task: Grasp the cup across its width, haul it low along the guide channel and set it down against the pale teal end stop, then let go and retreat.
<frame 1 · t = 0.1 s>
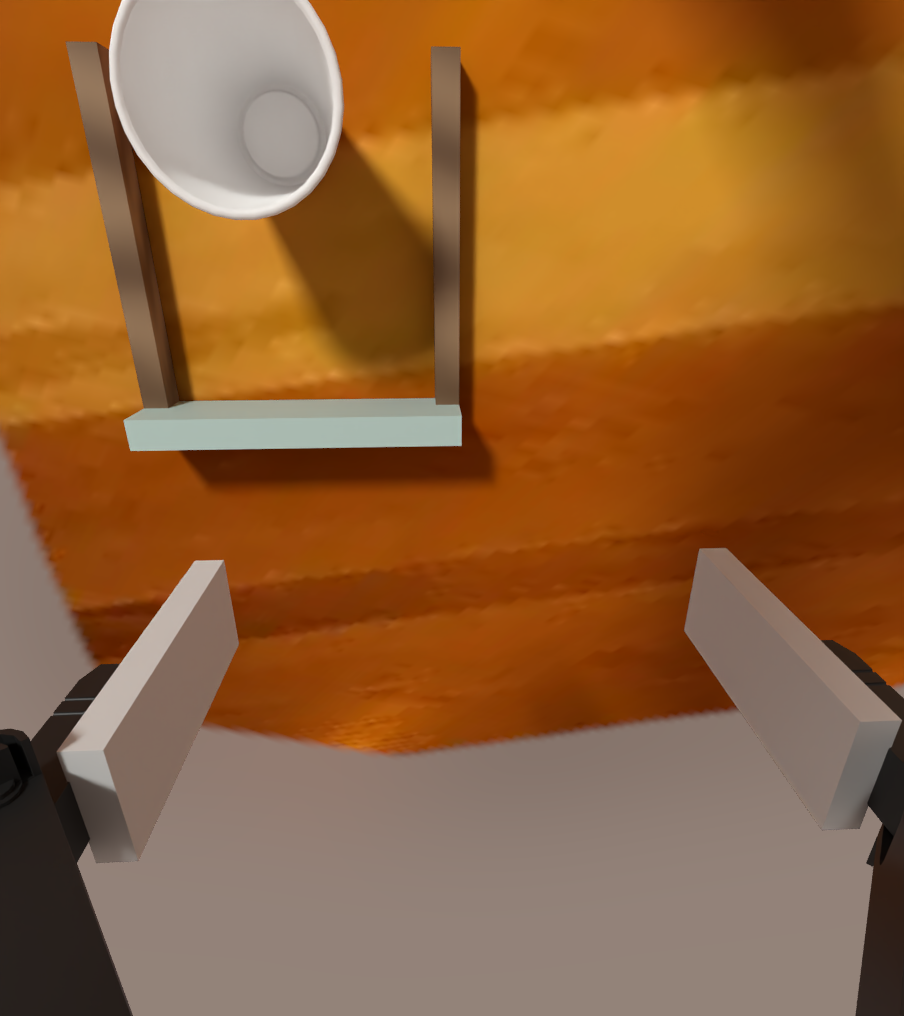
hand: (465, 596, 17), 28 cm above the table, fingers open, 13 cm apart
cup: (283, 137, 36), on the table
channel: (294, 262, 38), on the table
stop: (309, 413, 42), on the table
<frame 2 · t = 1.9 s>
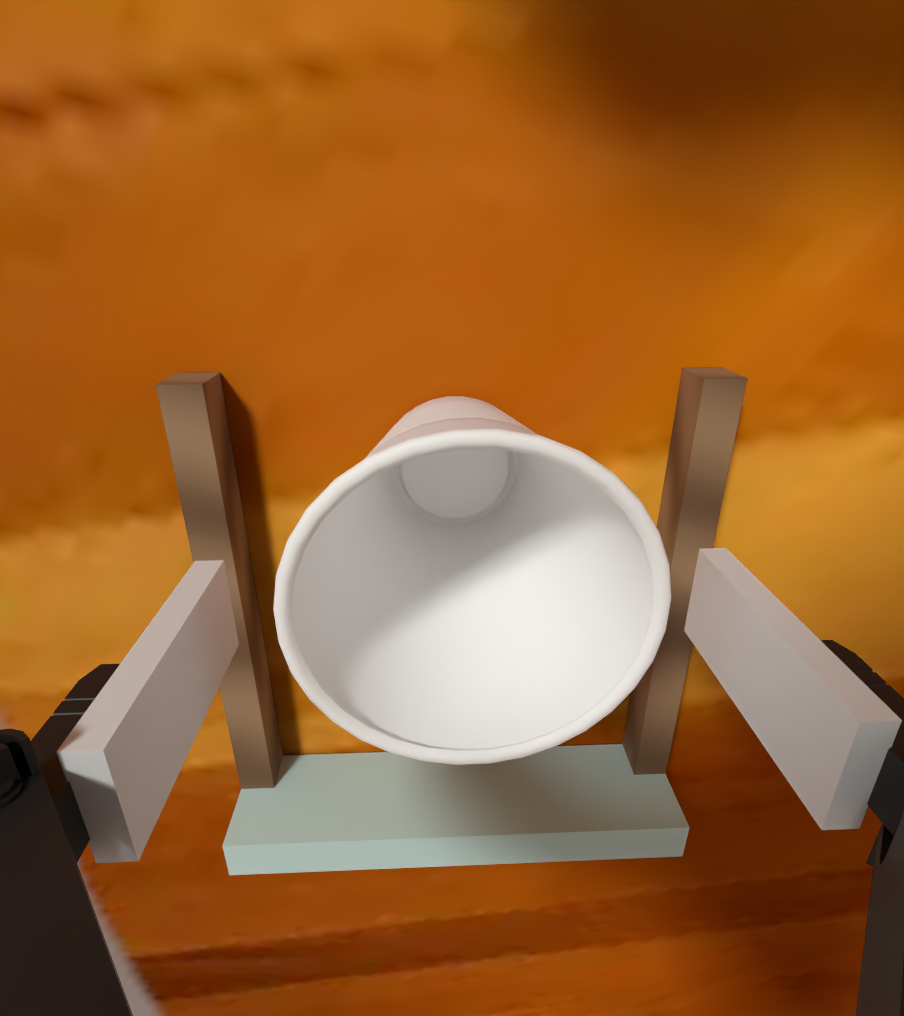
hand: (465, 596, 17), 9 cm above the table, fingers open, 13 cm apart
cup: (454, 464, 25), on the table
channel: (454, 607, 28), on the table
stop: (454, 763, 32), on the table
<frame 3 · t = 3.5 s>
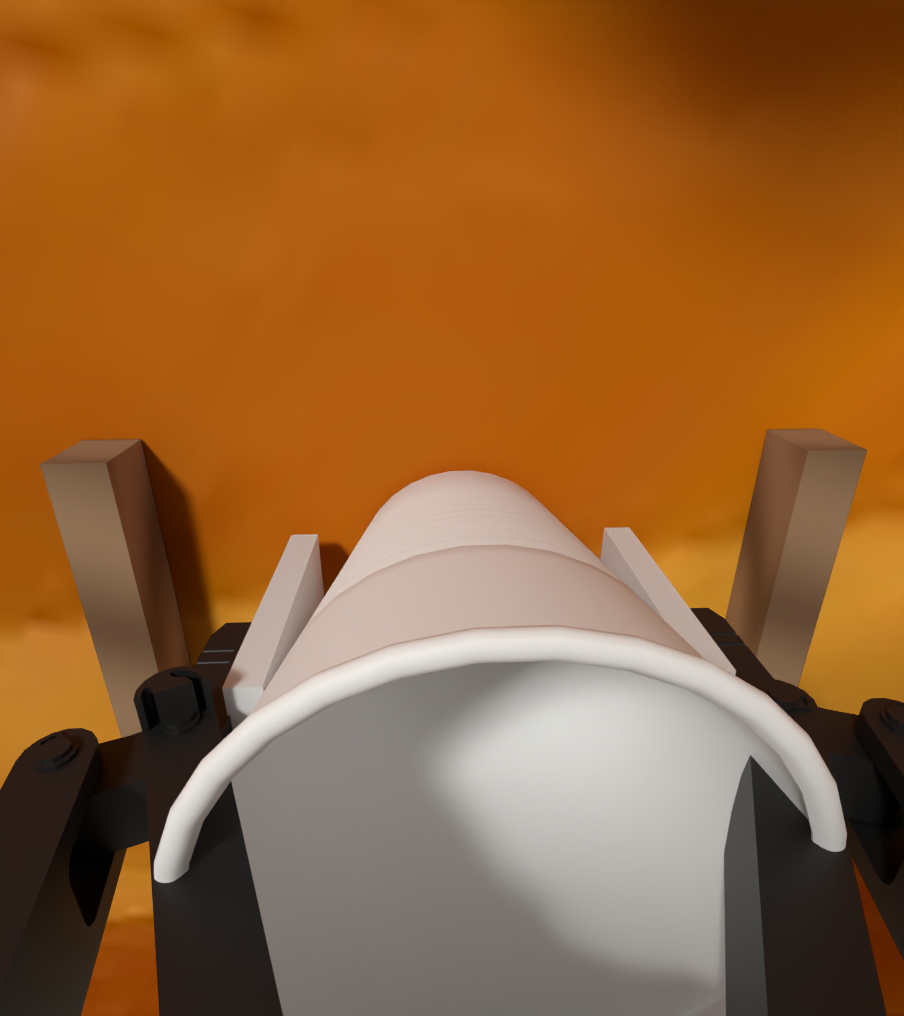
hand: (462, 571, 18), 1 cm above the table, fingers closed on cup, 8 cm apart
cup: (460, 554, 19), on the table, touching gripper
channel: (459, 728, 21), on the table
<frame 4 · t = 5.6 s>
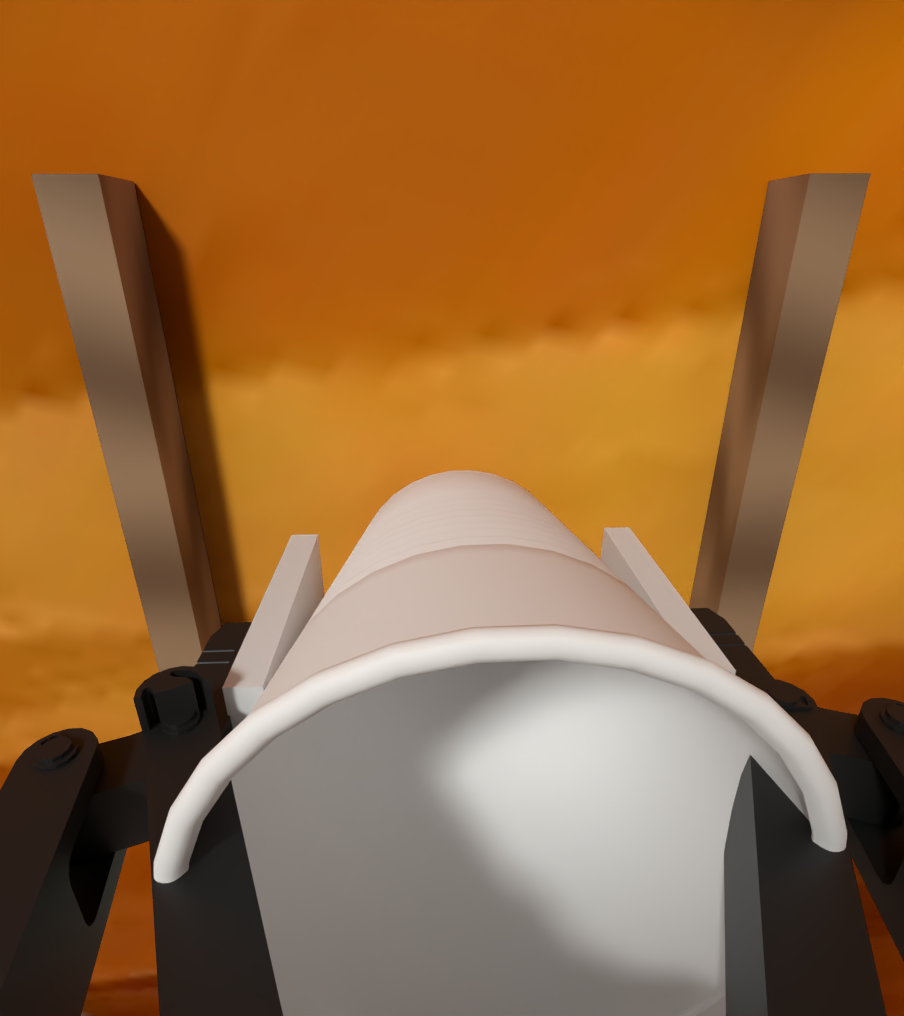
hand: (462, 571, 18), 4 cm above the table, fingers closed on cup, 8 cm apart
cup: (460, 554, 19), point 3 cm above the table, touching gripper
channel: (458, 530, 21), on the table
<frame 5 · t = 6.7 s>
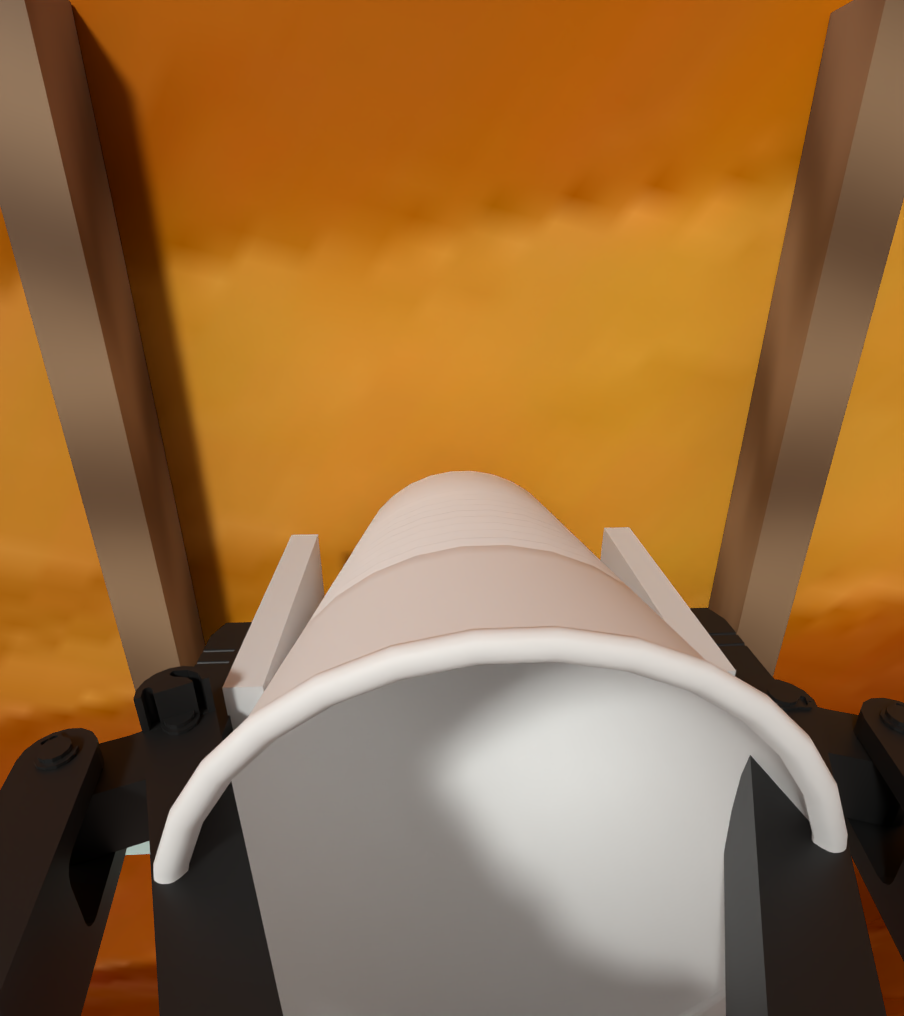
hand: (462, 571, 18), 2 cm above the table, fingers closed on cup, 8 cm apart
cup: (460, 555, 19), point 1 cm above the table, touching gripper
channel: (459, 451, 18), on the table
when the fingers open (1 cm above the table, at t = 7.6 s): cup stays where it is, on the table.
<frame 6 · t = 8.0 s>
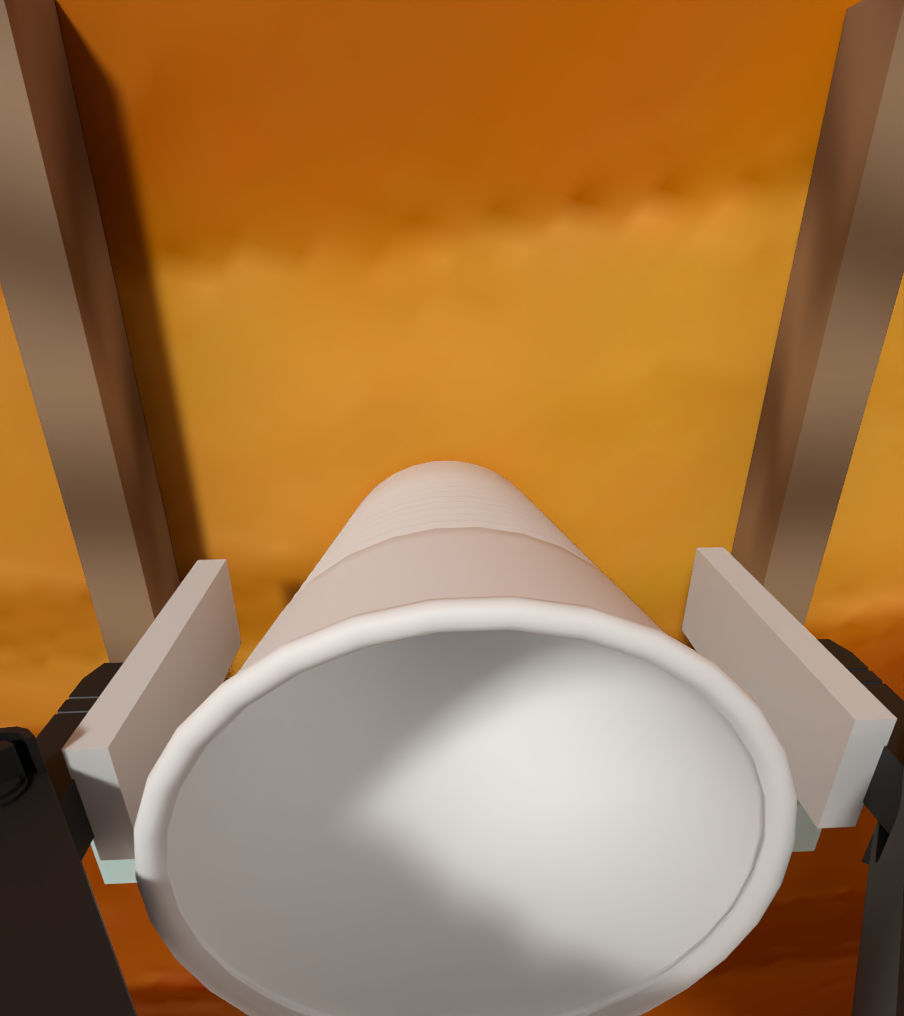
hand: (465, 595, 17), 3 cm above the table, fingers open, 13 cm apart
cup: (444, 544, 19), on the table
channel: (459, 462, 18), on the table
stop: (458, 719, 22), on the table
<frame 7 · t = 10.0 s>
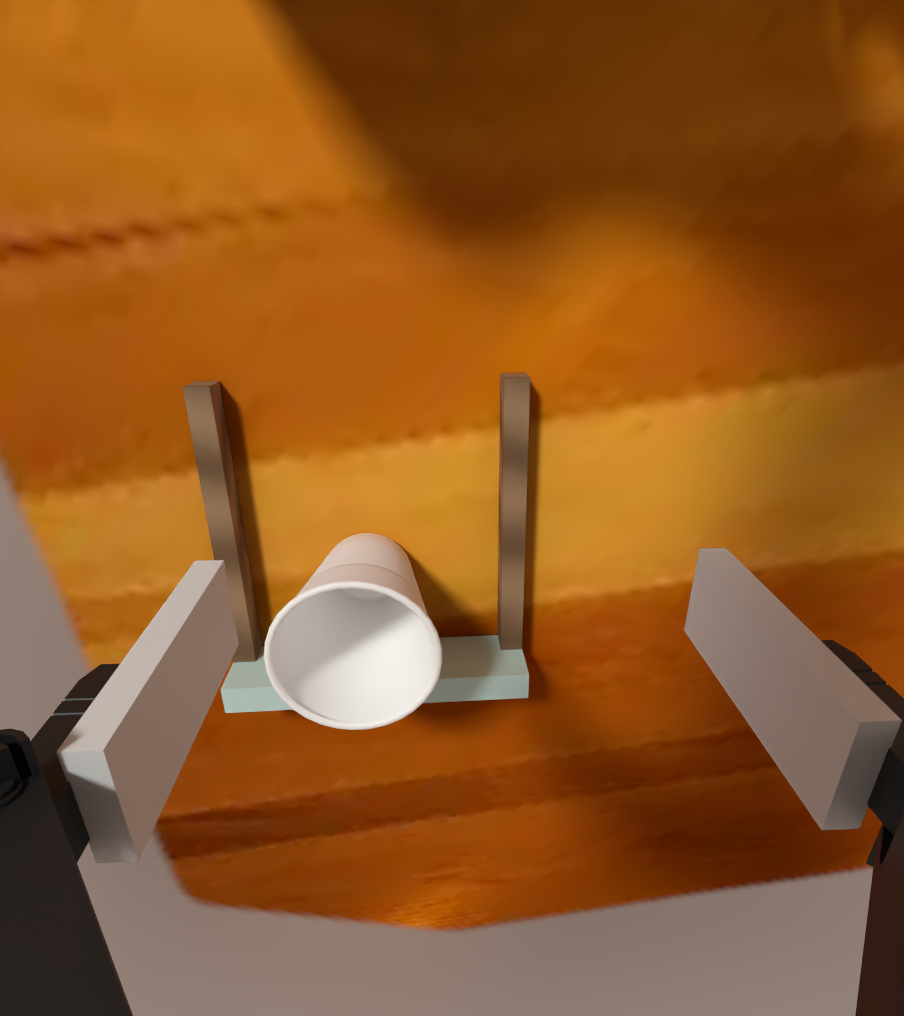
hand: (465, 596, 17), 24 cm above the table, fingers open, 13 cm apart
cup: (369, 567, 43), on the table
channel: (373, 533, 42), on the table
stop: (381, 651, 46), on the table
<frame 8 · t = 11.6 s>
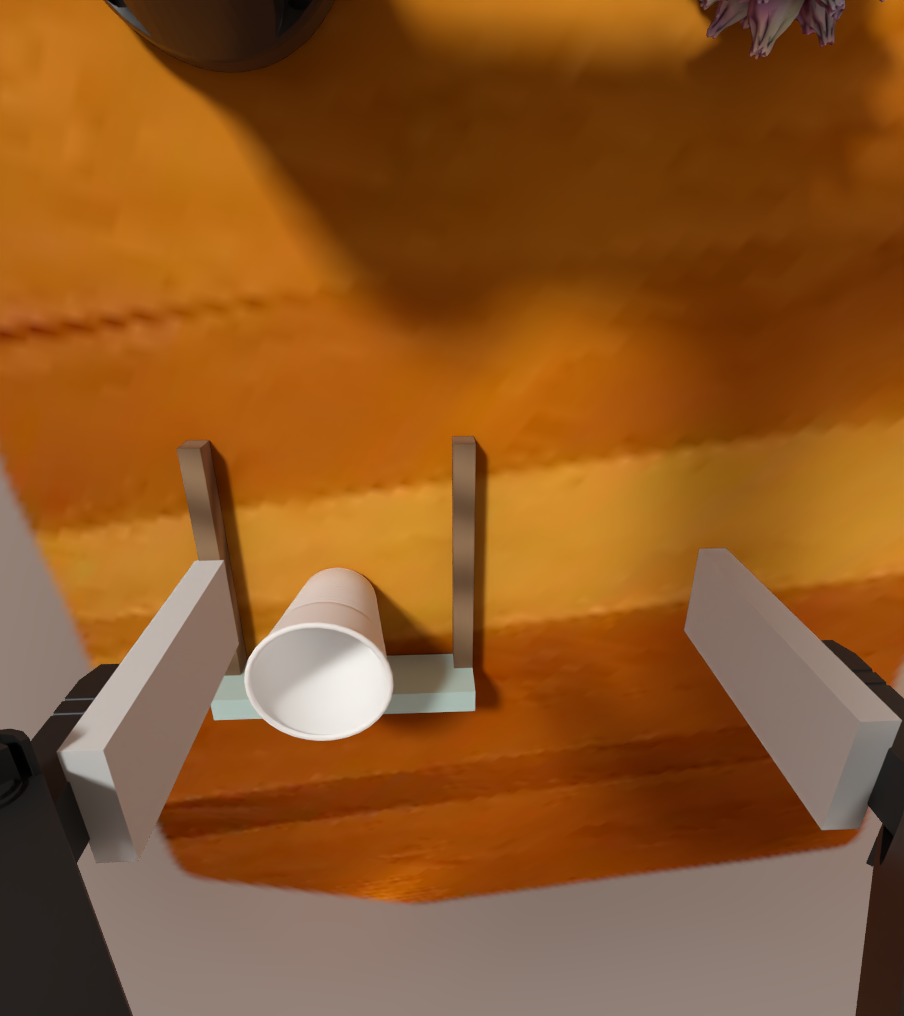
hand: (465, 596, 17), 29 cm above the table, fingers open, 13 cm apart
cup: (340, 596, 50), on the table
channel: (342, 567, 48), on the table
stop: (351, 666, 52), on the table
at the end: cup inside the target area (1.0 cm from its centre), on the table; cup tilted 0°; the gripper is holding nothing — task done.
